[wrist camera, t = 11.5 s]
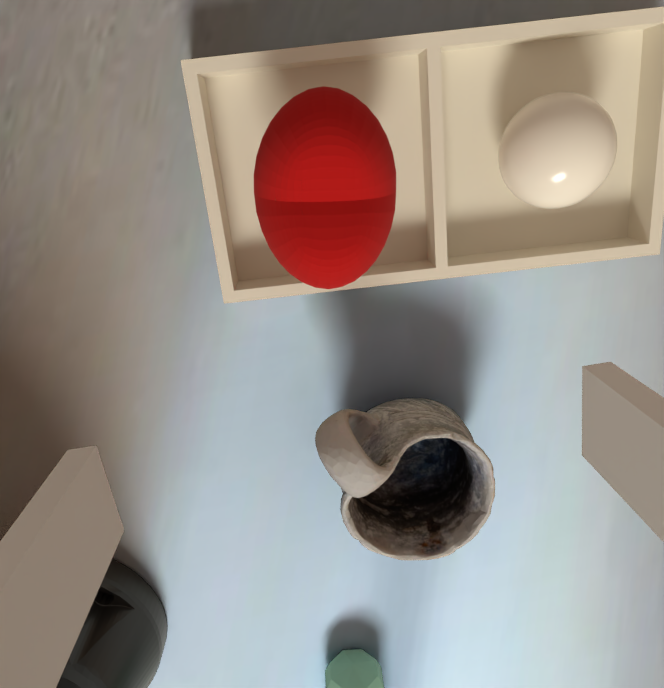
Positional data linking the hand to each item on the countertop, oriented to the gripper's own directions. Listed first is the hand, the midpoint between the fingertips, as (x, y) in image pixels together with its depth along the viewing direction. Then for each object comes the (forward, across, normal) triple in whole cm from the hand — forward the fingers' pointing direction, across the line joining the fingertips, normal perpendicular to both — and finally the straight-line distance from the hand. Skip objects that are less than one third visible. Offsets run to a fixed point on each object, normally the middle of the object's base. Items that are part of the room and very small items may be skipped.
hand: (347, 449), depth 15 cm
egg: (+21, +14, +6) cm, 26 cm away
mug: (+22, +3, -12) cm, 26 cm away
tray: (+22, +8, +6) cm, 24 cm away
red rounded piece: (+22, +1, +6) cm, 22 cm away
